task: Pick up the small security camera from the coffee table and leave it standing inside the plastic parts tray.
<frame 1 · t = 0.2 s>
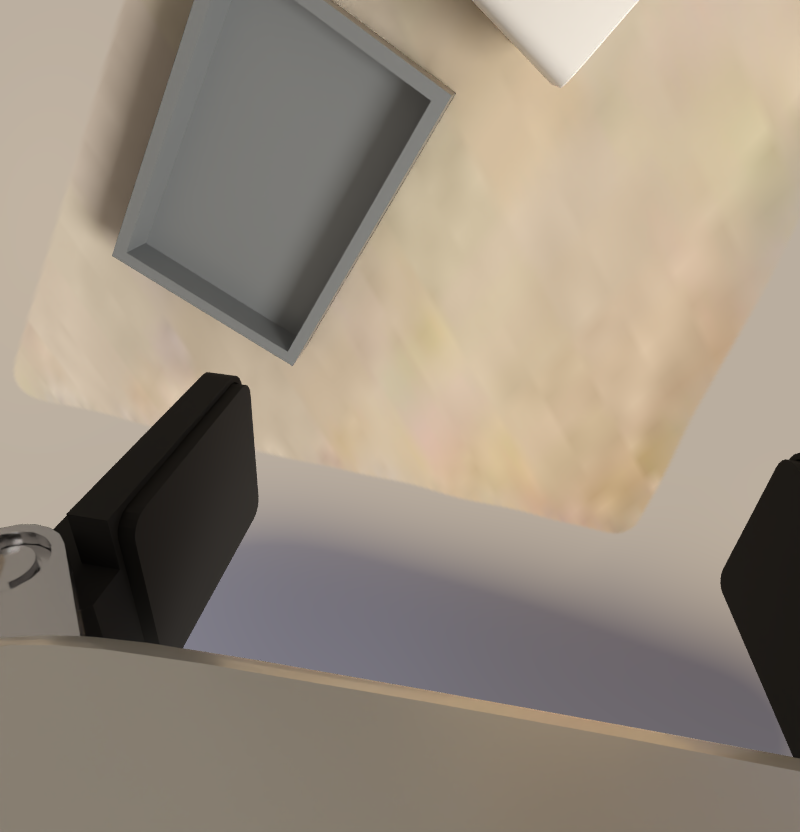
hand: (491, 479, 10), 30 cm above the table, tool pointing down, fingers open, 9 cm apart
parts tray: (281, 175, 37), on the table
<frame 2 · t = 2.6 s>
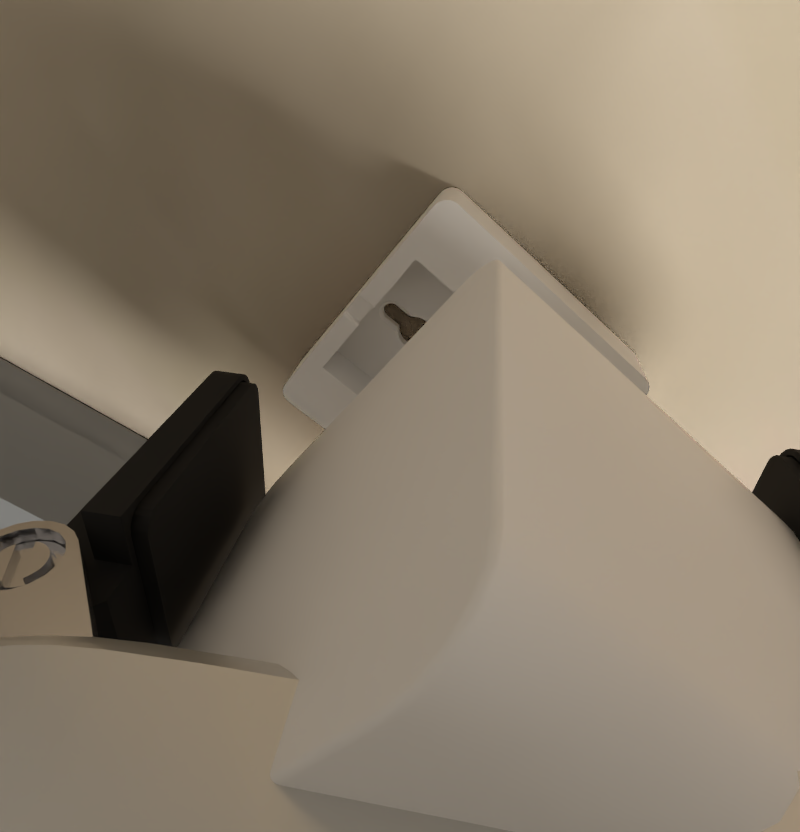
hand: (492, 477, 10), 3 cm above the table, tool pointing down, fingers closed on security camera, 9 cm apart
parts tray: (17, 601, 20), on the table
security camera: (484, 381, 13), on the table, touching gripper
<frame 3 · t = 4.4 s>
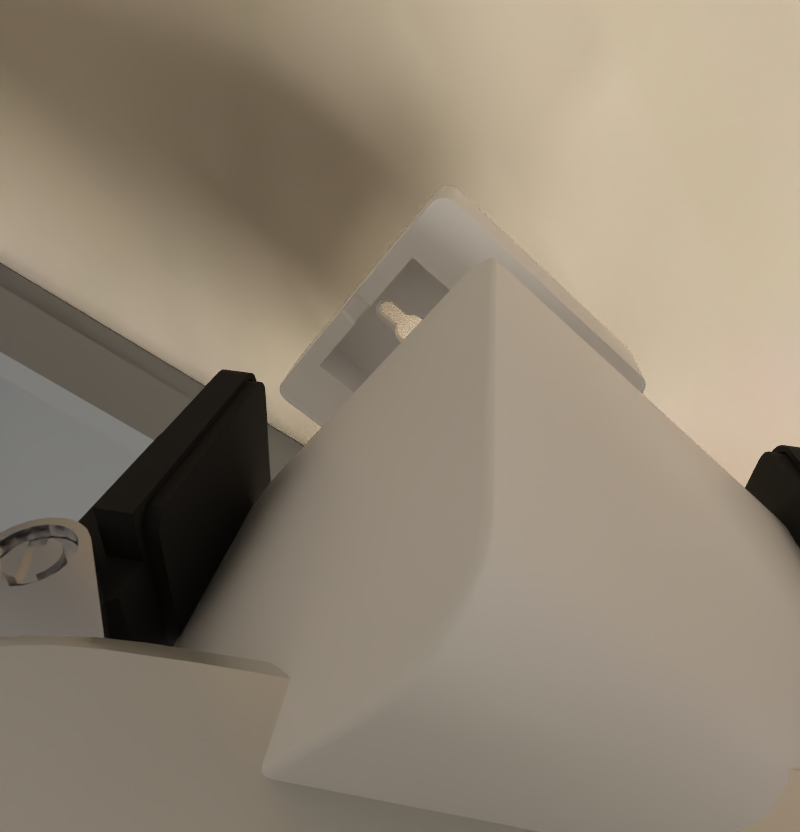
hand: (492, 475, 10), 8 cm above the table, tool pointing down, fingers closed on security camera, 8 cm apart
parts tray: (99, 543, 24), on the table
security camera: (481, 379, 13), point 4 cm above the table, touching gripper
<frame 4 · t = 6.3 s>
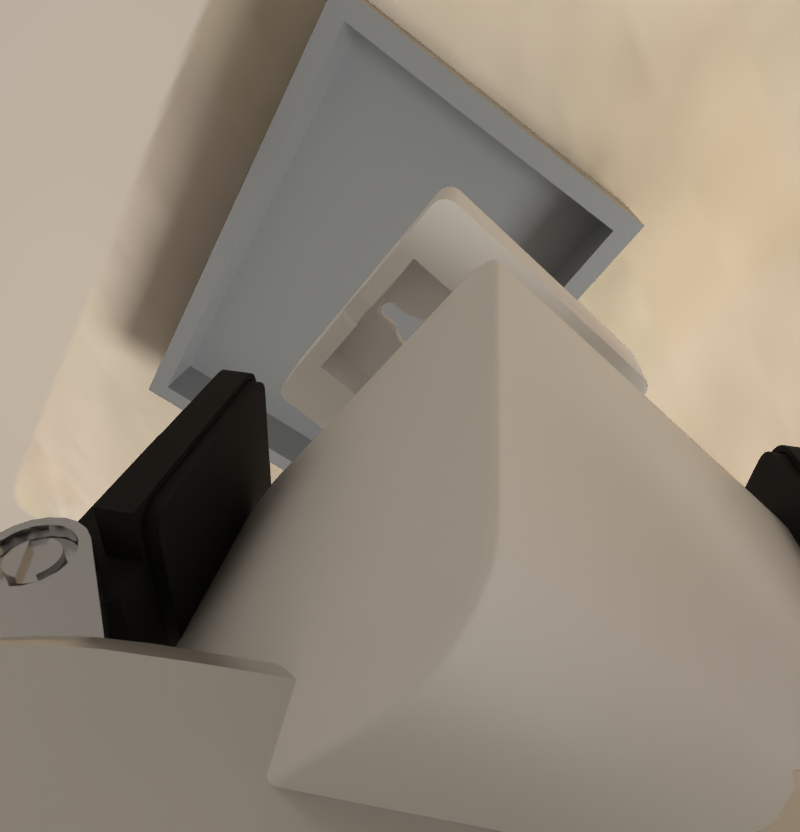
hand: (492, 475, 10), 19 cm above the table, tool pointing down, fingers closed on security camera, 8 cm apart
parts tray: (374, 293, 29), on the table
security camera: (482, 380, 13), point 15 cm above the table, touching gripper
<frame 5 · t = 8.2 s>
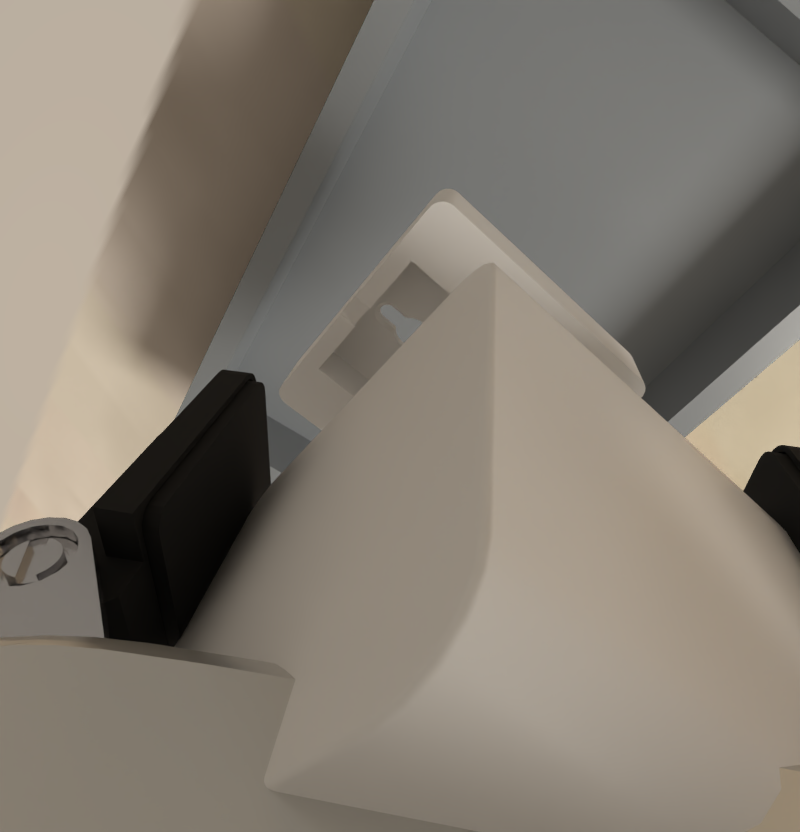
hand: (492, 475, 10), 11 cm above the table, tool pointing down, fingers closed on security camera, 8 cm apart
parts tray: (496, 284, 20), on the table
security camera: (480, 382, 13), point 8 cm above the table, touching gripper
when the fingers open (5 cm above the table, at t = 10.0 s): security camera stays where it is, resting on parts tray.
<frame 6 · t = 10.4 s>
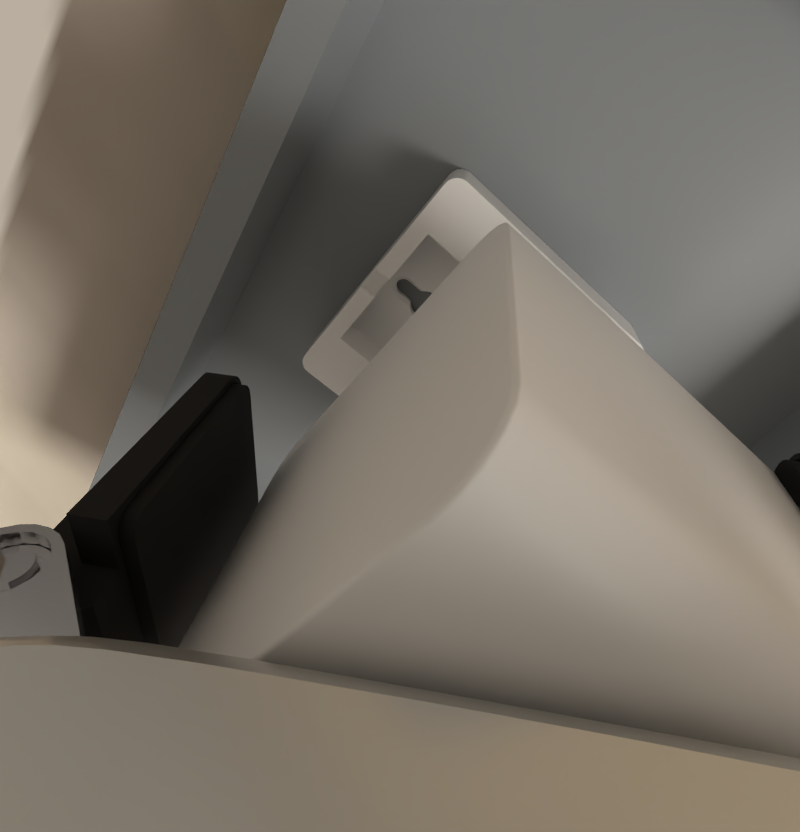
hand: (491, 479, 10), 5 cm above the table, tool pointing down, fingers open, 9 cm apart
parts tray: (493, 356, 15), on the table
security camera: (490, 353, 14), point 1 cm above the table, touching parts tray
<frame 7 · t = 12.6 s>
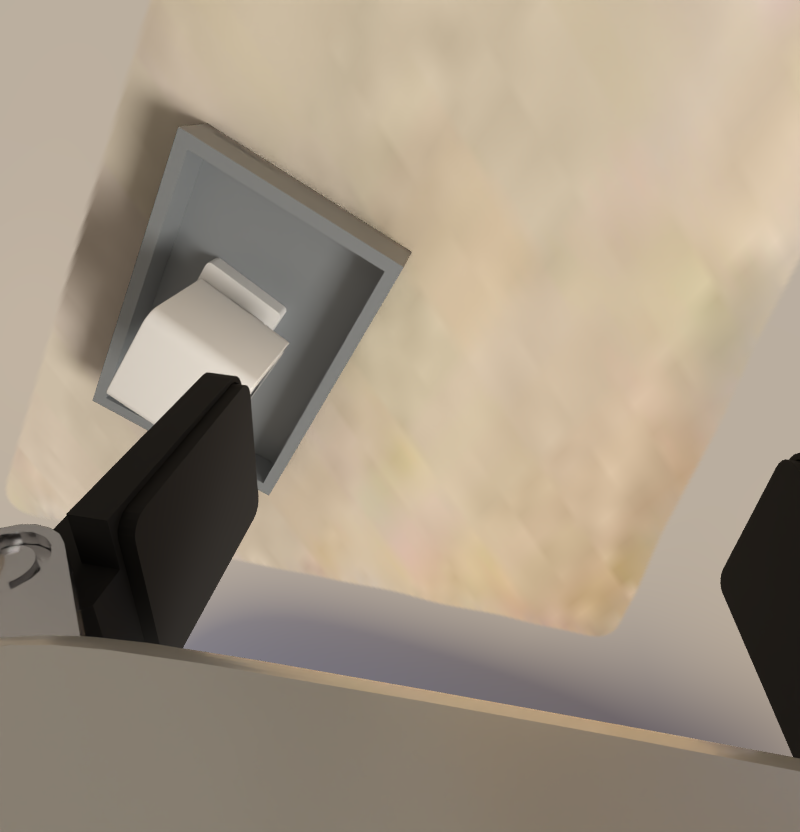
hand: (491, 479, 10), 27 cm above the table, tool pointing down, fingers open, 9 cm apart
parts tray: (251, 322, 39), on the table
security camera: (244, 319, 38), point 1 cm above the table, touching parts tray
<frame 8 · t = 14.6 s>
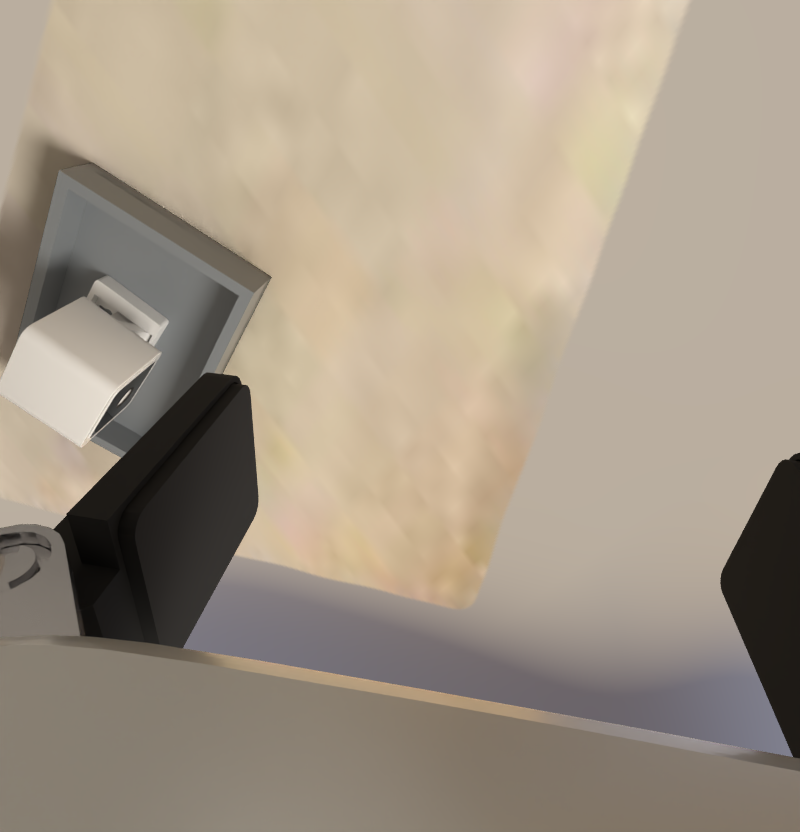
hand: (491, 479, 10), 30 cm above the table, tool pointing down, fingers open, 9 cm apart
parts tray: (142, 329, 45), on the table
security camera: (134, 328, 44), point 1 cm above the table, touching parts tray
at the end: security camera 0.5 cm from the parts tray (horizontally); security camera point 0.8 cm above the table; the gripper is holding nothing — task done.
